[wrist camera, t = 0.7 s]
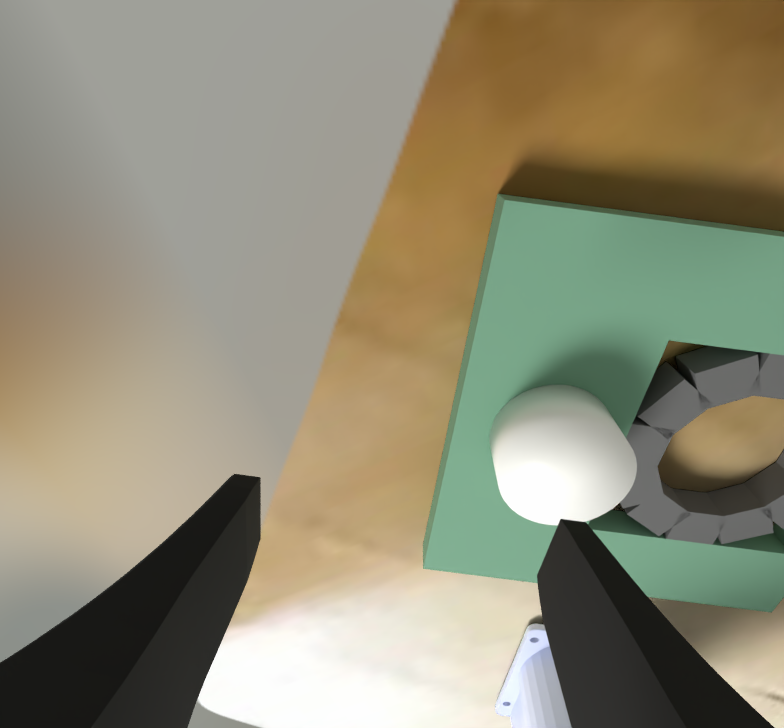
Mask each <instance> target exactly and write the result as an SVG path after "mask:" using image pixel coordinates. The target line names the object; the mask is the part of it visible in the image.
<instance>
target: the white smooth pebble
mask: <svg viewBox="0 0 784 728" xmlns="http://www.w3.org/2000/svg"><path fill="white" fill-rule="evenodd" d="M489 443H490V449H491V454H492V458H493V463H494V468H495V473H496V478H497V482H498V487H499V490H500V494H501V496H502V498H503V500H504V501H505V502H506V504H507V505H508V506H509V507H510V508H511V509H512V510H513V511H514V512H516V513H517V514H518V515H520V516H522V517H524V518H526V519H528V520H531V521H533V522H537V523H541V524H546V525H558V524H559V521H560V519H566V520H573V521H581V522H586V521H589V520H592V519H594V518H597V517H599V516H601V515H603V514H605V513H607V512H608V511H610V510H611V509H613V508H614V507H615V506H616V505H618V504H619V503H620V502H621V501H622V500H623V499H624V498H625V496H626V495H627V494H628V492H629V491H630V489H631V487H632V486H633V483H634V481H635V477H636V473H637V462H636V457H635V454H634V451H633V449H632V447H631V446H630V444H629V442H628V441H627V439H626V438H625V436H624V435H623V433H622V431H621V430H620V428H619V427H618V425H617V424H616V422H615V421H614V419H613V418H612V416H611V414H610V413H609V411H608V410H607V408H606V407H605V405H604V404H603V403H602V402H601V401H600V400H599V399H598V398H597V397H596V396H594V395H593V394H591V393H590V392H588V391H586V390H583V389H581V388H578V387H574V386H569V385H546V386H541V387H537V388H533V389H531V390H528V391H525V392H523V393H521V394H519V395H518V396H516V397H515V398H513V399H512V400H510V401H509V402H508V403H507V404H506V405H505V406H504V407H503V408H502V409H501V410H500V411H499V413H498V414H497V416H496V417H495V419H494V421H493V423H492V426H491V429H490V435H489Z"/></svg>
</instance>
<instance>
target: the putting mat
mask: <svg viewBox="0 0 784 728" xmlns="http://www.w3.org/2000/svg"><path fill="white" fill-rule="evenodd" d="M669 340H670V341H678V342H685V343H693V344H701V345H708V346H707V347H704V348H701V349H697V350H694V351H691V352H688V353H685V354H681V355H678V356H676V361H677V366H678V371H677V370H675V369H674V368H673V367H672V366H671V365H669V364H668V363H667V362H665V363H664V364H663V365H661V366H660V367H659V368H658V369H657V370H656V368H657V366H658V364H659V362H660V359H661V357H662V355H663V352H664V350H665V348H666V346H667V343H668V341H669ZM546 385H569V386H574V387H578V388H581V389H583V390H586V391H588V392H590V393H591V394H593V395H594V396H596V397H597V398H598V399H599V400H600V401H601V402H602V403H603V404H604V405H605V407H606V408H607V410H608V411H609V413H610V414H611V416H612V418H613V419H614V421H615V422H616V424H617V425H618V427H619V428H620V430H621V431H622V433H623V435H624V436H625V438H626V439H627V441H628V442H629V444H630V446H631V447H632V449H633V451H634V454H635V457H636V462H637V473H636V477H635V481H634V483H633V486H632V487H631V489H630V491H629V492H628V494H627V495H626V496H625V498H624V499H623V500H622V501H621V502H620V504H621V506H622V508H624V510H625V511H626V512H625V511H617V510H610V511H608V512H607V513H605V514H603V515H601V516H599V517H597V518H594V519H592V520H589V521H586V523H587V524H588V525H589V527H590V528H591V529H592V530H593V531H594V532H595V534H596V535H597V536H598V537H599V539H600V540H601V541H602V542H603V543H604V545H605V546H606V547H607V548H608V550H609V551H610V552H611V553H612V555H613V556H614V557H615V558H616V559H617V561H618V562H619V563H620V564H621V566H622V567H623V568H624V569H625V570H626V572H627V573H628V574H629V575H630V577H631V578H632V579H633V580H634V581H635V583H636V584H637V585H638V586H639V587H640V589H641V590H642V591H643V592H644V593H645V594H646V596H647V597H652V598H660V599H668V600H676V601H684V602H692V603H700V604H708V605H716V606H724V607H732V608H740V609H748V610H756V611H764V612H772V611H773V610H774V609H775V608H776V606H777V605H778V604H779V603H780V601H781V600H782V599H783V598H784V450H783V452H782V454H781V455H780V457H779V458H778V460H777V461H776V462H775V463H774V464H772V465H771V466H769V467H768V468H766V469H765V470H763V471H762V472H760V473H759V474H757V475H756V476H754V477H753V478H751V479H749V480H748V481H746V482H745V483H743V484H739V485H735V486H731V487H727V488H723V489H719V490H715V491H711V492H707V493H704V492H696V491H688V490H680V489H672V488H670V487H669V486H668V485H666V484H665V483H664V482H662V481H661V480H660V476H659V471H658V467H657V466H658V464H659V462H660V460H661V458H662V456H663V454H664V452H665V450H666V448H667V446H668V444H669V442H670V440H671V438H672V436H673V435H674V434H675V433H676V432H678V431H679V430H680V429H682V428H683V427H684V426H686V425H687V424H688V423H690V422H691V421H692V420H694V419H695V418H696V417H697V416H699V415H700V414H701V413H703V412H704V411H705V410H707V409H708V408H712V407H715V406H719V405H722V404H726V403H729V402H733V401H736V400H740V399H743V398H747V397H750V396H762V397H769V398H777V399H784V232H783V231H776V230H768V229H760V228H753V227H745V226H738V225H730V224H723V223H715V222H708V221H700V220H692V219H685V218H677V217H670V216H662V215H655V214H647V213H640V212H632V211H624V210H617V209H609V208H602V207H594V206H587V205H579V204H572V203H564V202H556V201H549V200H541V199H534V198H526V197H519V196H511V195H504V194H498V195H497V200H496V204H495V209H494V214H493V219H492V223H491V228H490V233H489V237H488V242H487V247H486V251H485V256H484V261H483V265H482V270H481V275H480V280H479V284H478V289H477V294H476V298H475V303H474V308H473V312H472V317H471V322H470V327H469V331H468V336H467V341H466V345H465V350H464V355H463V359H462V364H461V369H460V373H459V378H458V383H457V388H456V392H455V397H454V402H453V406H452V411H451V416H450V420H449V425H448V430H447V435H446V439H445V444H444V449H443V453H442V458H441V463H440V467H439V472H438V477H437V482H436V486H435V491H434V496H433V500H432V505H431V510H430V514H429V519H428V524H427V528H426V533H425V538H424V543H423V569H430V570H438V571H446V572H454V573H462V574H470V575H478V576H486V577H494V578H502V579H509V580H517V581H525V582H533V583H538V582H537V574H538V572H539V569H540V567H541V565H542V562H543V560H544V557H545V555H546V553H547V550H548V548H549V545H550V543H551V541H552V538H553V536H554V533H555V531H556V529H557V526H558V525H546V524H541V523H537V522H533V521H531V520H528V519H526V518H524V517H522V516H520V515H518V514H517V513H516V512H514V511H513V510H512V509H511V508H510V507H509V506H508V505H507V504H506V502H505V501H504V500H503V498H502V496H501V494H500V490H499V487H498V482H497V478H496V473H495V468H494V463H493V458H492V454H491V449H490V443H489V435H490V429H491V426H492V423H493V421H494V419H495V417H496V416H497V414H498V413H499V411H500V410H501V409H502V408H503V407H504V406H505V405H506V404H507V403H508V402H509V401H510V400H512V399H513V398H515V397H516V396H518V395H519V394H521V393H523V392H525V391H528V390H531V389H533V388H537V387H541V386H546ZM773 522H775V525H774V526H773Z"/></svg>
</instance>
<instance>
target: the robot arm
mask: <svg viewBox="0 0 784 728" xmlns="http://www.w3.org/2000/svg"><path fill="white" fill-rule="evenodd" d="M259 542H260V477H254V476H246V475H239V474H234V475H233V476H231V477H230V478H229V479H228V480H227V481H226V482H225V483H224V484H223V485H222V486H221V487H220V488H219V489H218V490H217V491H216V492H215V493H214V494H213V495H212V496H211V497H210V498H209V499H208V500H207V501H206V502H205V503H204V504H203V505H202V506H201V507H200V508H199V509H198V510H197V511H196V512H195V513H194V514H193V515H192V516H191V517H190V518H189V519H188V520H187V521H186V522H185V523H183V524H182V525H181V526H180V527H179V528H178V529H177V530H176V531H175V532H174V533H173V534H172V535H171V536H169V537H168V538H167V539H166V540H165V541H164V542H163V543H162V544H161V545H159V546H158V547H157V548H156V549H155V550H154V551H152V552H151V553H150V554H149V555H148V556H147V557H145V558H144V559H143V560H142V561H141V562H139V563H138V564H137V565H136V566H135V567H133V568H132V569H131V570H130V571H129V572H128V573H127V574H125V575H124V576H123V577H121V578H120V579H119V580H118V581H116V582H115V583H114V584H113V585H111V586H110V587H109V588H107V589H106V590H105V591H103V592H102V593H101V594H100V595H98V596H97V597H96V598H94V599H93V600H92V601H90V602H89V603H87V604H86V605H85V606H83V607H82V608H81V609H79V610H78V611H77V612H75V613H74V614H73V615H71V616H70V617H68V618H67V619H65V620H64V621H62V622H61V623H60V624H58V625H57V626H55V627H54V628H52V629H51V630H49V631H48V632H47V633H45V634H43V635H42V636H41V637H39V638H38V639H37V640H35V641H33V642H32V643H30V644H29V645H27V646H26V647H24V648H23V649H21V650H19V651H18V652H16V653H15V654H13V655H12V656H10V657H9V658H7V659H5V660H4V661H2V662H0V728H187V727H188V724H189V721H190V718H191V715H192V712H193V709H194V707H195V704H196V701H197V699H198V696H199V693H200V691H201V688H202V686H203V683H204V681H205V678H206V676H207V674H208V671H209V669H210V667H211V664H212V662H213V660H214V657H215V655H216V653H217V651H218V648H219V646H220V644H221V641H222V639H223V637H224V634H225V632H226V630H227V627H228V625H229V623H230V621H231V618H232V616H233V614H234V611H235V609H236V607H237V604H238V602H239V600H240V597H241V595H242V593H243V590H244V588H245V585H246V583H247V581H248V577H249V574H250V571H251V568H252V565H253V562H254V558H255V555H256V552H257V548H258V545H259ZM537 582H538V589H539V597H540V604H541V610H542V617H543V622H544V624H531V625H529V626H528V627H527V629H526V632H525V634H524V636H523V639H522V641H521V644H520V646H519V649H518V651H517V653H516V656H515V658H514V661H513V663H512V666H511V668H510V670H509V673H508V675H507V678H506V680H505V683H504V685H503V687H502V690H501V692H500V695H499V697H498V699H497V702H496V704H495V710H496V713H497V714H498V715H501V716H509V717H510V718H511V724H512V728H774V727H773V726H772V725H771V724H770V723H769V722H768V721H767V720H766V719H765V718H763V717H762V716H761V715H760V714H759V713H758V712H757V711H756V710H755V709H754V708H753V707H752V706H751V705H750V704H749V703H748V702H747V701H745V700H744V699H743V698H742V697H741V696H740V695H739V694H738V693H737V692H736V691H735V690H734V689H733V688H732V687H731V686H730V685H729V684H728V683H727V682H726V681H725V680H724V679H723V678H722V677H721V676H720V675H719V674H718V673H717V672H716V671H715V670H714V669H713V668H712V667H711V666H710V665H709V664H708V663H707V662H706V661H705V660H704V659H703V658H702V657H701V656H700V655H699V654H698V652H697V651H696V650H695V649H694V648H693V647H692V646H691V645H690V644H689V643H688V642H687V641H686V640H685V638H684V637H683V636H682V635H681V634H680V633H679V632H678V631H677V630H676V629H675V628H674V627H673V625H672V624H671V623H670V622H669V621H668V620H667V619H666V618H665V616H664V615H663V614H662V613H661V612H660V611H659V610H658V608H657V607H656V606H655V605H654V604H653V603H652V601H651V600H650V599H649V598H648V597H647V596H646V594H645V593H644V592H643V591H642V590H641V589H640V587H639V586H638V585H637V584H636V583H635V581H634V580H633V579H632V578H631V577H630V575H629V574H628V573H627V572H626V570H625V569H624V568H623V567H622V566H621V564H620V563H619V562H618V561H617V559H616V558H615V557H614V556H613V555H612V553H611V552H610V551H609V550H608V548H607V547H606V546H605V545H604V543H603V542H602V541H601V540H600V539H599V537H598V536H597V535H596V534H595V532H594V531H593V530H592V529H591V528H590V527H589V525H588V524H587V523H586V522H581V521H573V520H566V519H560V521H559V524H558V526H557V529H556V531H555V533H554V536H553V538H552V541H551V543H550V545H549V548H548V550H547V553H546V555H545V557H544V560H543V562H542V565H541V567H540V569H539V572H538V574H537Z"/></svg>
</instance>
